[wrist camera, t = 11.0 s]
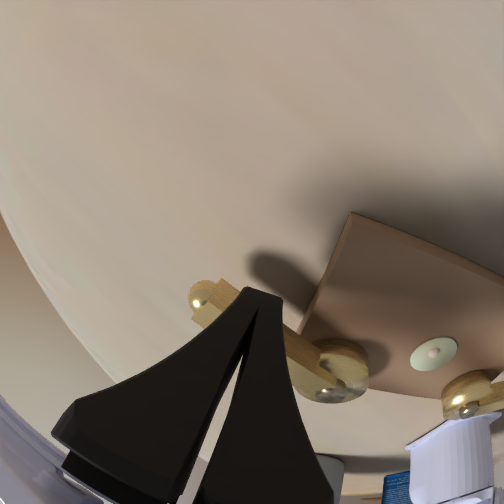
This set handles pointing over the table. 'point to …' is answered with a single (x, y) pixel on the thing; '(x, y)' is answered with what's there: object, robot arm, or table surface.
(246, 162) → the table surface
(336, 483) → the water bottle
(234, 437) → the robot arm
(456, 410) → the lever
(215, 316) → the lever
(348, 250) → the base
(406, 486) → the blue plastic bottle
